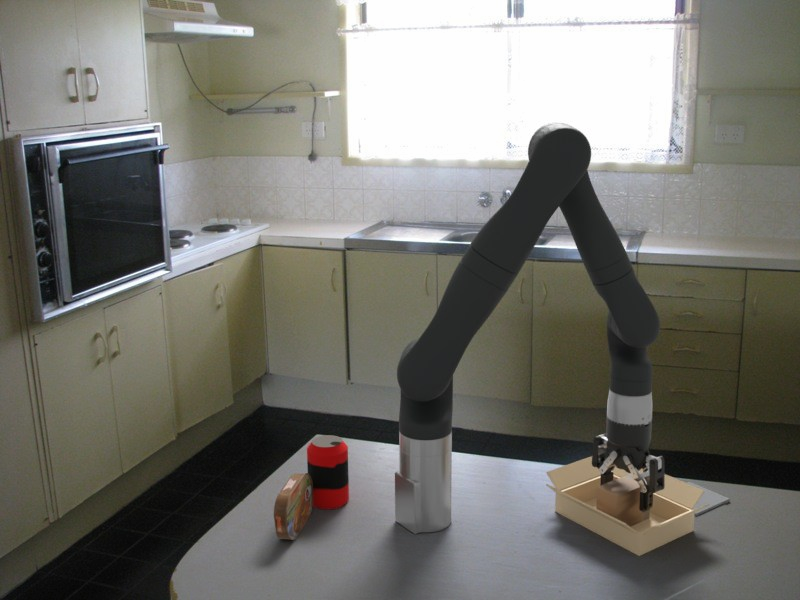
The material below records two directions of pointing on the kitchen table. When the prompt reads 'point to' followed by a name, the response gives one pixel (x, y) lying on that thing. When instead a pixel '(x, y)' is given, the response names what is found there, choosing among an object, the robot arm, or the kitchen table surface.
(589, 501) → the carton
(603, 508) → the tan rectangular block
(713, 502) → the mat
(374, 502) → the kitchen table surface
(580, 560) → the kitchen table surface
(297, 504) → the tin
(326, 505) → the soda can
